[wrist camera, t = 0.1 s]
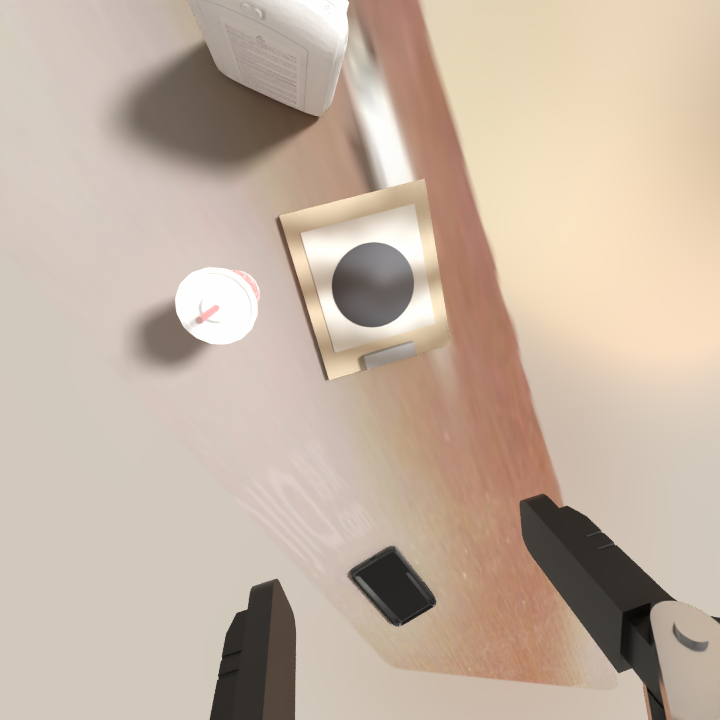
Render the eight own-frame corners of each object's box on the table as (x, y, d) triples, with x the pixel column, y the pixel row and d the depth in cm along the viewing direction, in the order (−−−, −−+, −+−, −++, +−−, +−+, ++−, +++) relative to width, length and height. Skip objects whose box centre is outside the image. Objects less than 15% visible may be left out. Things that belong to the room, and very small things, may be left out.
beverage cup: (246, 333, 37) (216, 381, 24) (193, 299, 35) (128, 331, 22) (278, 286, 36) (266, 310, 23) (226, 249, 34) (179, 251, 21)
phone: (396, 628, 54) (349, 575, 49) (395, 621, 55) (348, 568, 50) (439, 603, 54) (395, 547, 49) (436, 596, 55) (393, 541, 50)
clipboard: (279, 216, 34) (278, 214, 32) (422, 179, 35) (427, 177, 33) (328, 378, 40) (329, 382, 39) (448, 342, 41) (453, 345, 40)
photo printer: (340, 74, 31) (365, -29, 19) (327, 126, 32) (342, 57, 20) (223, 17, 28) (169, -141, 17) (212, 75, 29) (155, -36, 18)
